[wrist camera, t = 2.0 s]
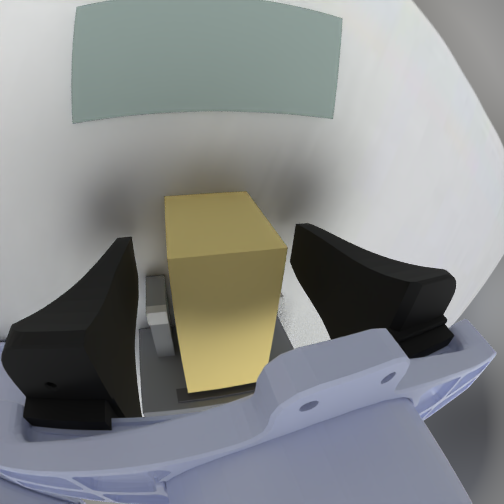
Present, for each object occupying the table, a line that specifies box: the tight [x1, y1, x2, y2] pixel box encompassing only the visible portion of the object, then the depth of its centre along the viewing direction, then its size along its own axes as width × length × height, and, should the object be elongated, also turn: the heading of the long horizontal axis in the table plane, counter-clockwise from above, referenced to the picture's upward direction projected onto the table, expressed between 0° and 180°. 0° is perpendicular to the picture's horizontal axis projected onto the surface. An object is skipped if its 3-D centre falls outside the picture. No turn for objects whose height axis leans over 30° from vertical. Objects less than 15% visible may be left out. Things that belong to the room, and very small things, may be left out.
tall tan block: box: [164, 191, 288, 393], centre depth 14 cm, size 4×8×6 cm, turn 175°
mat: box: [71, 0, 342, 124], centre depth 10 cm, size 12×6×1 cm, turn 85°
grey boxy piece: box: [139, 275, 294, 417], centre depth 16 cm, size 9×10×6 cm
